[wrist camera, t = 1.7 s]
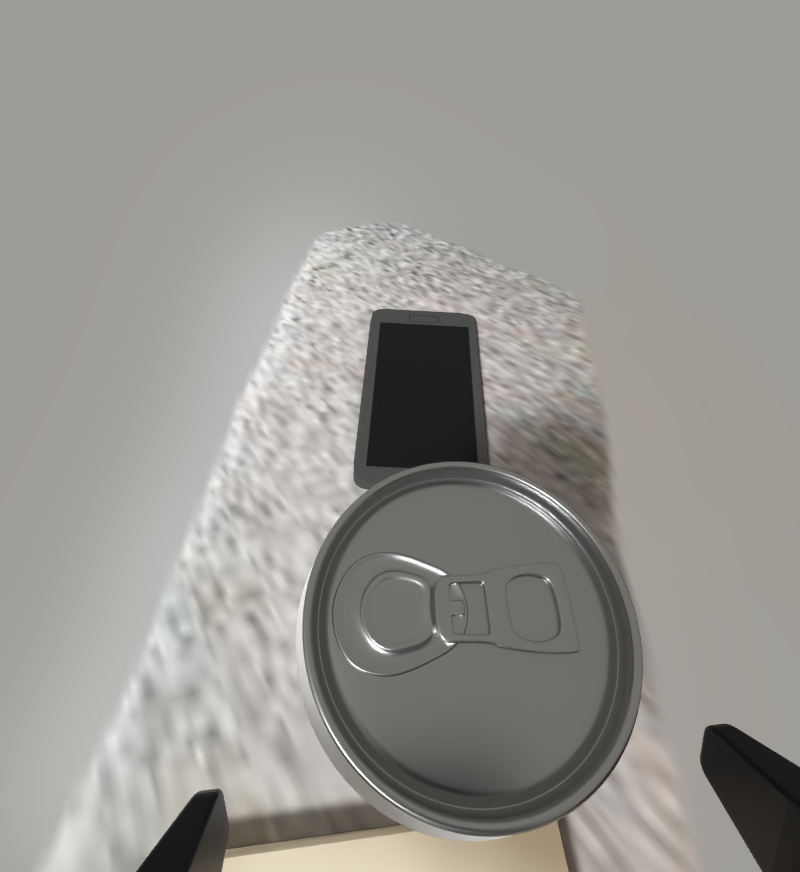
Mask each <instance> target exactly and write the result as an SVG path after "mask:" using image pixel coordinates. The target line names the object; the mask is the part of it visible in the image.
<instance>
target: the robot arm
mask: <svg viewBox="0 0 800 872" xmlns="http://www.w3.org/2000/svg"><path fill="white" fill-rule="evenodd" d="M700 762H701V766H702V769H703V771H704V774H705V775H706V777H707V779H708V781H709V782H710V784H711V786H712V787H713V789H714V791H715V792H716V794H717V796H718V798H719V799H720V801H721V803H722V804H723V806H724V808H725V809H726V811H727V813H728V814H729V816H730V818H731V820H732V821H733V823H734V825H735V826H736V828H737V830H738V831H739V833H740V835H741V836H742V838H743V840H744V842H745V843H746V845H747V847H748V848H749V850H750V852H751V853H752V855H753V857H754V858H755V860H756V862H757V864H758V865H759V867H760V868H761V870H762V872H800V767H799V766H797V765H795V764H794V763H792V762H790V761H789V760H787V759H786V758H784V757H782V756H781V755H779V754H777V753H776V752H774V751H772V750H771V749H769V748H768V747H766V746H764V745H763V744H761V743H760V742H758V741H756V740H755V739H753V738H752V737H750V736H748V735H747V734H745V733H744V732H742V731H740V730H739V729H737V728H735V727H733V726H731V725H728V724H718V725H710V726H707V727H706V728H705V731H704V736H703V742H702V748H701V754H700ZM228 832H229V823H228V817H227V812H226V806H225V801H224V796H223V792H222V791H221V790H220V789H211V790H203V791H199V792H197V793H196V794H195V795H194V796H193V797H192V798H191V799H190V801H189V802H188V803H187V805H186V806H185V807H184V809H183V810H182V811H181V813H180V814H179V815H178V817H177V818H176V819H175V821H174V822H173V823H172V825H171V826H170V827H169V829H168V830H167V831H166V833H165V834H164V835H163V837H162V838H161V839H160V841H159V842H158V843H157V845H156V846H155V847H154V849H153V850H152V851H151V853H150V854H149V855H148V857H147V858H146V859H145V861H144V862H143V863H142V865H141V866H140V867H139V869H138V870H137V871H136V872H222V867H223V862H224V857H225V851H226V846H227V840H228Z"/></svg>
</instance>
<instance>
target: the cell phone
mask: <svg viewBox="0 0 800 872" xmlns="http://www.w3.org/2000/svg"><path fill="white" fill-rule="evenodd" d="M439 462H472V463H479V464H485V465H489V461H488V450H487V439H486V428H485V417H484V406H483V395H482V384H481V373H480V362H479V351H478V340H477V329H476V322H475V319H474V317H473V316H471V315H468V314H461V313H447V312H429V311H411V310H393V309H379V310H376V311H374V312H373V315H372V318H371V323H370V331H369V339H368V348H367V356H366V365H365V373H364V382H363V390H362V398H361V407H360V415H359V424H358V432H357V441H356V449H355V457H354V481H355V483H356V485H358V486H359V487H361V488H364V489H370V488H372V487H373V486H375V485H376V484H378V483H379V482H381V481H383V480H385V479H387V478H389V477H390V476H393V475H395V474H397V473H399V472H402V471H405V470H407V469H410V468H414V467H417V466H421V465H426V464H432V463H439Z"/></svg>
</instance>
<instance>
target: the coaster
mask: <svg viewBox="0 0 800 872" xmlns="http://www.w3.org/2000/svg"><path fill="white" fill-rule="evenodd" d="M222 872H569V871H568V867H567V862H566V858H565V853H564V849H563V845H562V840H561V836H560V831H559V827H558V823H557V821H556V822H554V823H551V824H549V825H547V826H544V827H542V828H539V829H536V830H533V831H530V832H526V833H521V834H517V835H512V836H508V837H505V838H500V839H495V840H488V841H469V842H467V841H454V840H447V839H442V838H437V837H433V836H429V835H426V834H423V833H420V832H417V831H415V830H412V829H410V828H408V827H406V826H404V825H395V826H388V827H381V828H374V829H367V830H360V831H353V832H345V833H338V834H331V835H324V836H317V837H310V838H303V839H296V840H289V841H282V842H275V843H267V844H260V845H253V846H246V847H239V848H232V849H226V851H225V857H224V862H223V867H222Z"/></svg>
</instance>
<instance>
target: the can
mask: <svg viewBox="0 0 800 872" xmlns="http://www.w3.org/2000/svg"><path fill="white" fill-rule="evenodd" d="M296 665H297V673H298V680H299V685H300V690H301V694H302V698H303V702H304V705H305V708H306V711H307V714H308V717H309V720H310V722H311V725H312V727H313V729H314V732H315V734H316V736H317V738H318V740H319V742H320V744H321V746H322V747H323V749H324V751H325V753H326V754H327V756H328V757H329V759H330V760H331V762H332V763H333V765H334V766H335V768H336V769H337V770H338V772H339V773H340V774H341V775H342V777H343V778H344V779H345V780H346V781H347V782H348V784H349V785H350V786H351V787H352V788H353V789H354V790H355V791H356V792H357V793H358V794H359V795H360V796H361V797H362V798H363V799H365V800H366V801H367V802H368V803H369V804H371V805H372V806H373V807H374V808H376V809H377V810H379V811H380V812H381V813H383V814H384V815H386V816H387V817H389V818H391V819H392V820H394V821H396V822H398V823H400V824H402V825H404V826H406V827H408V828H410V829H412V830H415V831H417V832H420V833H423V834H426V835H429V836H433V837H437V838H442V839H447V840H454V841H467V842H469V841H488V840H495V839H500V838H505V837H508V836H512V835H517V834H521V833H526V832H530V831H533V830H536V829H539V828H542V827H544V826H547V825H549V824H551V823H554V822H556V821H558V820H559V819H561V818H563V817H565V816H566V815H568V814H569V813H571V812H573V811H574V810H575V809H577V808H578V807H579V806H581V805H582V804H583V803H584V802H585V801H587V800H588V799H589V798H590V797H591V796H592V795H593V794H594V793H595V792H596V791H597V790H598V789H599V788H600V787H601V786H602V784H603V783H604V782H605V781H606V779H607V778H608V777H609V775H610V774H611V773H612V771H613V770H614V768H615V766H616V765H617V763H618V762H619V760H620V758H621V756H622V754H623V752H624V750H625V748H626V746H627V744H628V741H629V739H630V736H631V734H632V731H633V728H634V725H635V721H636V717H637V713H638V709H639V704H640V698H641V690H642V677H643V660H642V646H641V638H640V632H639V627H638V622H637V618H636V614H635V610H634V607H633V603H632V600H631V598H630V595H629V592H628V590H627V587H626V585H625V582H624V580H623V578H622V576H621V574H620V572H619V570H618V568H617V566H616V564H615V562H614V560H613V559H612V557H611V555H610V554H609V552H608V551H607V549H606V548H605V546H604V545H603V543H602V542H601V541H600V539H599V538H598V537H597V535H596V534H595V533H594V532H593V530H592V529H591V528H590V527H589V526H588V524H587V523H586V522H585V521H584V520H583V519H582V518H581V517H580V516H579V515H578V514H577V513H576V512H575V511H574V510H573V509H572V508H570V507H569V506H568V505H567V504H566V503H565V502H563V501H562V500H561V499H559V498H558V497H557V496H555V495H554V494H553V493H551V492H550V491H548V490H547V489H545V488H543V487H542V486H540V485H538V484H537V483H535V482H533V481H531V480H529V479H527V478H525V477H523V476H521V475H518V474H516V473H513V472H510V471H508V470H505V469H501V468H498V467H494V466H490V465H485V464H479V463H472V462H439V463H432V464H426V465H421V466H417V467H414V468H410V469H407V470H405V471H402V472H399V473H397V474H395V475H393V476H390V477H389V478H387V479H385V480H383V481H381V482H379V483H378V484H376V485H375V486H373V487H372V488H370V489H369V490H368V491H366V492H365V493H364V494H362V495H361V496H360V497H359V498H358V499H357V500H356V501H355V502H353V503H352V504H351V505H350V506H349V508H348V509H347V510H346V511H345V512H344V513H343V514H342V515H341V517H340V518H339V519H338V520H337V522H336V523H335V525H334V526H333V527H332V529H331V530H330V532H329V534H328V535H327V537H326V539H325V540H324V542H323V544H322V546H321V548H320V550H319V552H318V555H317V557H316V560H315V562H314V564H313V566H312V568H311V570H310V573H309V575H308V578H307V580H306V583H305V586H304V590H303V593H302V597H301V601H300V605H299V611H298V617H297V625H296Z"/></svg>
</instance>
